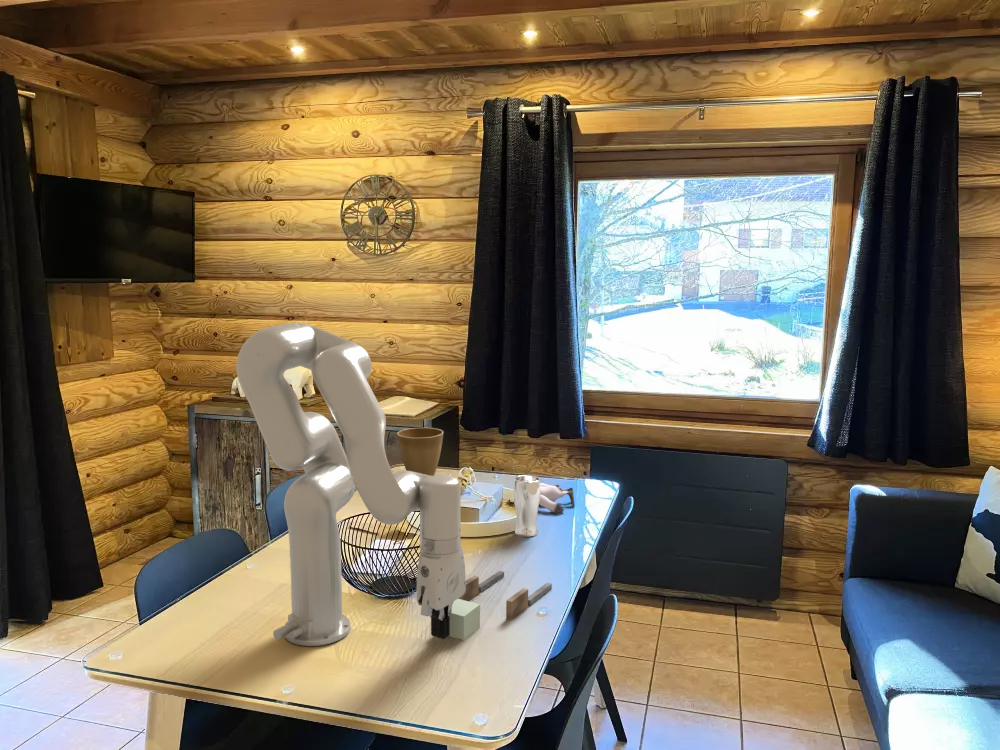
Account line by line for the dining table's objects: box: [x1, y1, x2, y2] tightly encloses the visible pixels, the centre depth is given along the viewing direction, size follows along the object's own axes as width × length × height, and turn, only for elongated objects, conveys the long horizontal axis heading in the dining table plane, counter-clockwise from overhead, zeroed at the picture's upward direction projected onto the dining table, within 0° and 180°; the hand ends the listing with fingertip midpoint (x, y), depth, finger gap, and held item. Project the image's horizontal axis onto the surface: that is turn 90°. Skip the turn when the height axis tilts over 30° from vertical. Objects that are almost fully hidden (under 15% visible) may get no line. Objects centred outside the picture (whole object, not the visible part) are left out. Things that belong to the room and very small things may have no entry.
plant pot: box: [396, 427, 444, 476], centre depth 255 cm, size 15×15×16 cm
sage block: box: [448, 599, 481, 641], centre depth 154 cm, size 6×6×5 cm
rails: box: [479, 570, 553, 606], centre depth 173 cm, size 10×13×1 cm
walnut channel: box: [458, 575, 529, 621], centre depth 164 cm, size 7×13×4 cm, turn 59°
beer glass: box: [513, 474, 541, 538], centre depth 207 cm, size 7×7×15 cm
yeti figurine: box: [512, 482, 576, 515], centre depth 234 cm, size 20×7×20 cm
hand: (440, 635), depth 148 cm, fingers closed
